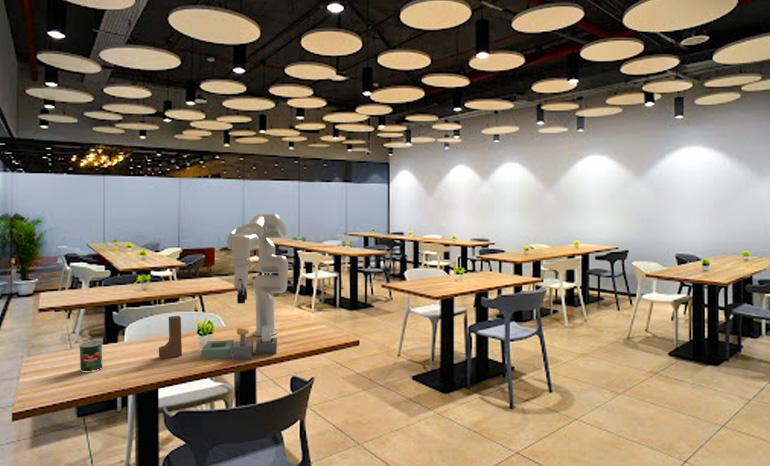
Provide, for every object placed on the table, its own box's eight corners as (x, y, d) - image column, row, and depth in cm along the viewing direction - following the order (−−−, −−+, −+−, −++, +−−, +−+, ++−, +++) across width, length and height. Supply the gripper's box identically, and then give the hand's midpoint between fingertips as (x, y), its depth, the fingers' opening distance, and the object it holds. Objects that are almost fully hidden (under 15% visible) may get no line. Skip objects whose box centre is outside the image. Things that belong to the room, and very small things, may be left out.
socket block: (257, 348, 220) (257, 338, 220) (277, 347, 222) (276, 337, 221) (256, 355, 211) (255, 344, 211) (276, 353, 213) (275, 343, 212)
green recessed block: (208, 349, 219) (207, 341, 219) (234, 348, 221) (233, 339, 221) (201, 359, 206) (201, 350, 205) (229, 357, 208) (229, 348, 207)
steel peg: (262, 350, 218) (262, 325, 217) (271, 349, 219) (271, 325, 218) (262, 353, 214) (261, 327, 213) (270, 352, 215) (270, 327, 214)
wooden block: (160, 359, 205) (159, 319, 204) (158, 356, 209) (157, 317, 208) (182, 355, 211) (180, 317, 209) (180, 353, 214) (178, 315, 213)
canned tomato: (86, 374, 188) (85, 347, 187) (76, 370, 192) (75, 344, 191) (106, 368, 194) (105, 343, 194) (96, 365, 198) (95, 340, 198)
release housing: (235, 354, 212) (235, 341, 212) (253, 353, 213) (253, 340, 213) (232, 360, 204) (232, 347, 204) (251, 359, 206) (251, 346, 205)
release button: (238, 346, 211) (237, 327, 210) (249, 346, 211) (249, 327, 211) (236, 350, 206) (236, 330, 205) (248, 349, 206) (247, 330, 206)
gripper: (235, 260, 214) (236, 297, 215) (229, 265, 197) (230, 306, 198) (252, 259, 215) (252, 297, 216) (247, 264, 198) (248, 305, 199)
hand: (242, 301), depth 207 cm, fingers open, 7 cm apart
